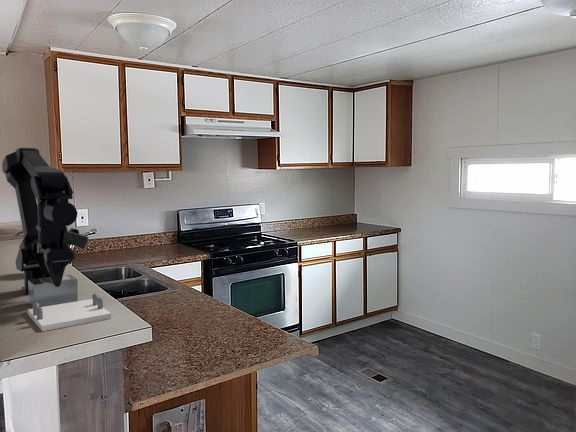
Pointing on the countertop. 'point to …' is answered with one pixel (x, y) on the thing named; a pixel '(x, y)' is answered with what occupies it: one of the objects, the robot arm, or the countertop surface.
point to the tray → (69, 313)
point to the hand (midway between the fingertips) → (52, 282)
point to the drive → (52, 291)
